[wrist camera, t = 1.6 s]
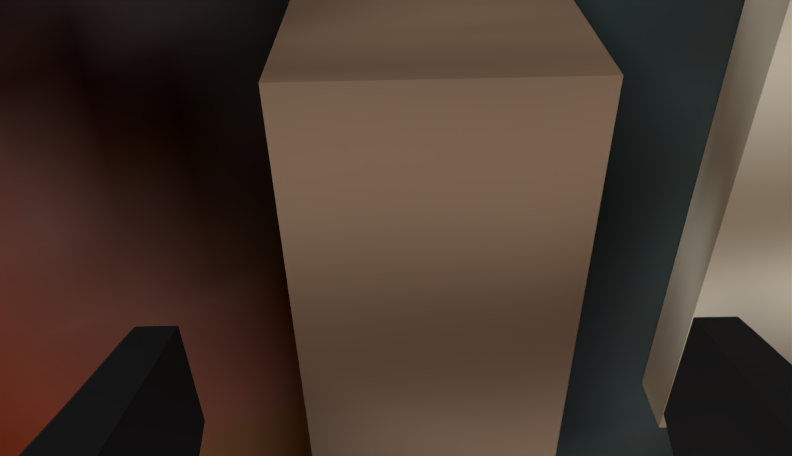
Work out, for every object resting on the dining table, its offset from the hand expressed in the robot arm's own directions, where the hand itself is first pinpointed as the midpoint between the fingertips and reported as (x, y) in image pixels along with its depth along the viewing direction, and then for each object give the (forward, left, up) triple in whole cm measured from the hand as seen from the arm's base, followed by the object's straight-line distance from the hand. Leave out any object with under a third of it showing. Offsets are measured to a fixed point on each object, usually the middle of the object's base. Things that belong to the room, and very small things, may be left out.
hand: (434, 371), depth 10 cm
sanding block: (0, 0, -6) cm, 6 cm away
